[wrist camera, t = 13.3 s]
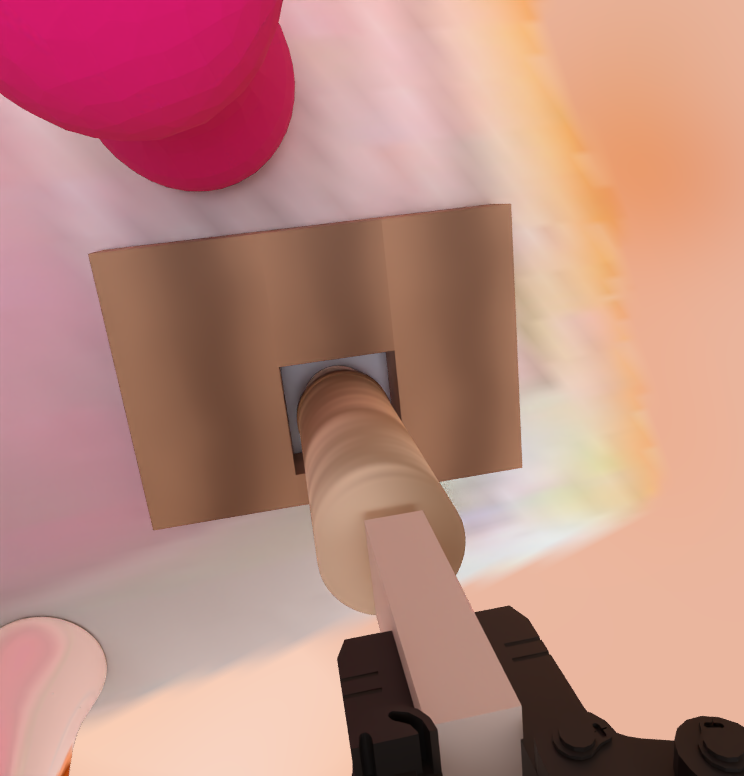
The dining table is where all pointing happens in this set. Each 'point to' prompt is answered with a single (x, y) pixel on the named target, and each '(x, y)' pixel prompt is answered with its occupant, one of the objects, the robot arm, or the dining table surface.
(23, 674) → the beer glass
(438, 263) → the board
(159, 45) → the pepper mill
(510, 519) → the dining table surface
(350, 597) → the peg
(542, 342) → the dining table surface
